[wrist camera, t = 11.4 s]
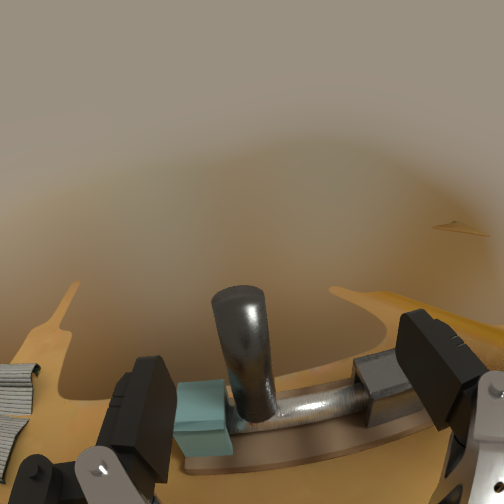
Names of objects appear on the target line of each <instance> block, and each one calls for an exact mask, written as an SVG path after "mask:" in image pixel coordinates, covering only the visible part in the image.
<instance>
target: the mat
mask: <svg viewBox="0 0 504 504" xmlns="http://www.w3.org/2000/svg"><path fill="white" fill-rule="evenodd" d="M40 369H41V367H40V365H39V364H37V363H31V364H0V483H2V484H5V482H4V480H3V478H4V474H5V470H6V467H7V464H8V461H9V457H10V454H11V451H12V448H13V446H14V443H15V440H16V438H17V436H18V434H19V432H20V431H21V430H22V428H23V427H24V426H25V425H26V424H27V423H28V421H29V419H25V418H16V417H9V416H4V415H32V401H33V385H32V378H31V375H32V372H33V373H35V374H36V376H37V377H38V373H39V371H40Z"/></svg>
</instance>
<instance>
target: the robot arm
mask: <svg viewBox="0 0 504 504" xmlns="http://www.w3.org/2000/svg"><path fill="white" fill-rule="evenodd" d="M395 354H396V359H397V362H398V364H399V366H400V368H401V369H402V371H403V372H404V374H405V376H406V377H407V379H408V381H409V382H410V384H411V385H412V387H413V389H414V390H415V392H416V394H417V395H418V397H419V399H420V400H421V402H422V404H423V406H424V407H425V409H426V411H427V412H428V414H429V416H430V418H431V419H432V421H433V423H434V425H435V426H436V428H437V430H438V432H439V431H441V430H443V429H445V428H447V427H449V426H450V427H451V429H452V433H451V435H450V439H449V444H448V449H447V453H446V457H445V461H444V465H443V469H442V473H441V477H440V480H439V483H438V485H437V487H436V489H435V491H434V493H433V495H432V497H431V499H430V501H429V503H428V504H504V372H502V371H489V370H488V369H487V368H486V367H485V365H484V364H483V363H482V362H481V361H480V360H479V358H478V357H477V356H476V355H475V354H474V353H473V351H472V350H471V349H470V348H469V347H468V346H467V345H466V344H464V341H463V340H462V339H461V338H460V337H459V336H457V334H456V333H455V331H454V330H453V329H452V328H451V327H450V326H449V325H447V324H445V323H444V322H442V321H440V320H438V319H434V320H433V318H432V317H431V316H430V315H429V314H428V313H427V312H426V311H425V310H424V309H418V310H414V311H411V312H407V313H403V314H402V315H401V317H400V322H399V329H398V335H397V341H396V347H395ZM112 396H113V398H111V401H110V403H109V408H108V409H107V412H106V415H105V418H104V421H103V424H102V427H101V430H100V433H99V436H98V440H97V443H96V445H95V446H93V447H90V448H88V449H86V450H84V451H83V452H82V453H81V454H80V455H79V456H78V458H77V460H76V461H73V462H65V463H58V464H53V463H52V462H51V461H50V460H49V459H48V458H46V457H45V456H43V455H40V454H34V455H31V456H28V457H27V458H26V459H24V460H23V462H22V463H21V465H20V467H19V469H18V472H17V475H16V478H15V482H14V485H13V488H12V491H11V495H10V498H9V502H8V504H162V503H161V501H160V500H159V498H158V497H157V496H156V494H155V493H154V487H155V483H167V479H168V470H169V462H170V454H171V446H172V438H173V431H174V423H175V416H176V409H177V392H176V388H175V386H174V383H173V381H172V379H171V377H170V374H169V372H168V370H167V368H166V365H165V363H164V361H163V359H162V357H161V356H147V357H138V358H137V359H136V362H135V365H134V368H133V371H132V372H130V373H125V374H124V376H123V377H122V378H121V379H120V380H119V381H118V383H117V384H116V387H115V389H114V392H113V395H112Z"/></svg>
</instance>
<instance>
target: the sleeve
mask: <svg viewBox="0 0 504 504" xmlns="http://www.w3.org/2000/svg"><path fill="white" fill-rule="evenodd" d="M360 382H362V384H363V386H364V388H365V390H366V392H367V394H368V396H369V403H368V408H367V412H366V416H365V421H364V423H365V425H366V428H367V429H368V428H372V427H375V426H378V425H381V424H385V423H388V422H391V421H394V420H397V419H399V418H402V417H405V416H408V415H411V414H413V413H416V412H419V411H421V410H423V409H424V406H423V404H422V402H421V400H420V399H419V397H418V395H417V394H416V392H415V390H414V389H413V387H412V385H411V384H410V382H409V381H408V379H407V377H406V376H405V374H404V372H403V371H402V369H401V368H400V366H399V364H398V362H397V359H396V354H395V348H394V349H390V350H386V351H383V352H379V353H375V354H371V355H367V356H363V357H359V358H355V359H353V367H352V375H351V384H350V385H352V384H356V383H360Z"/></svg>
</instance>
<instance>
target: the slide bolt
mask: <svg viewBox="0 0 504 504" xmlns="http://www.w3.org/2000/svg"><path fill="white" fill-rule="evenodd" d="M211 302H212V308H213V312H214V317H215V322H216V326H217V331H218V335H219V339H220V344H221V348H222V352H223V356H224V361H225V365H226V369H227V373H228V377H229V381H230V385H231V389H232V393H233V397H234V401H235V405H228V406H225V425H226V428H227V431H228V434H238V433H247V432H256V431H264V430H271V429H278V428H285V427H291V426H297V425H302V424H307V423H312V422H317V421H322V420H327V419H331V418H336V417H340V416H344V415H348V414H352V413H356V412H359V411H363V410H367V408H368V403H369V396H368V394H367V392H366V390H365V388H364V386H363V384H362V382H360V383H356V384H352V385H348V386H344V387H340V388H335V389H331V390H326V391H321V392H316V393H311V394H306V395H301V396H295V397H289V398H283V399H277V400H276V391H275V382H274V374H273V365H272V356H271V349H270V339H269V331H268V322H267V314H266V306H265V297H264V293H263V291H262V290H261V289H259V288H257V287H254V286H248V285H241V286H233V287H229V288H226V289H224V290H221V291H220V292H218V293H217V294H215V295H214V297H213V298H212V301H211Z"/></svg>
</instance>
